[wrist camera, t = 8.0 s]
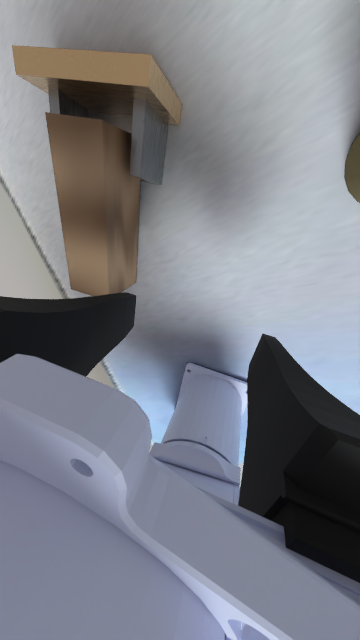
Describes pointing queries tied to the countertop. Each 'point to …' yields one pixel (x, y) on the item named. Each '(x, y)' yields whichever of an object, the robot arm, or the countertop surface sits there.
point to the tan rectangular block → (96, 202)
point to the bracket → (108, 96)
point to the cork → (353, 169)
